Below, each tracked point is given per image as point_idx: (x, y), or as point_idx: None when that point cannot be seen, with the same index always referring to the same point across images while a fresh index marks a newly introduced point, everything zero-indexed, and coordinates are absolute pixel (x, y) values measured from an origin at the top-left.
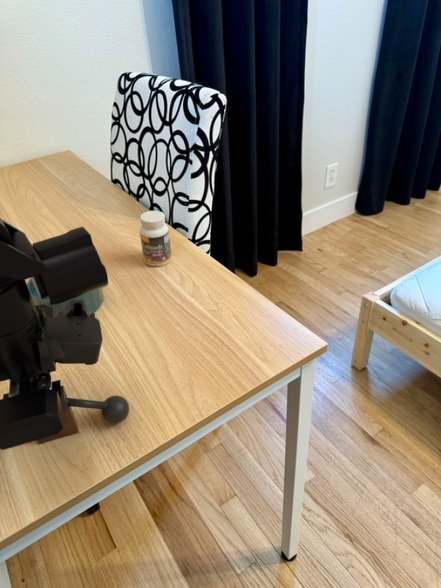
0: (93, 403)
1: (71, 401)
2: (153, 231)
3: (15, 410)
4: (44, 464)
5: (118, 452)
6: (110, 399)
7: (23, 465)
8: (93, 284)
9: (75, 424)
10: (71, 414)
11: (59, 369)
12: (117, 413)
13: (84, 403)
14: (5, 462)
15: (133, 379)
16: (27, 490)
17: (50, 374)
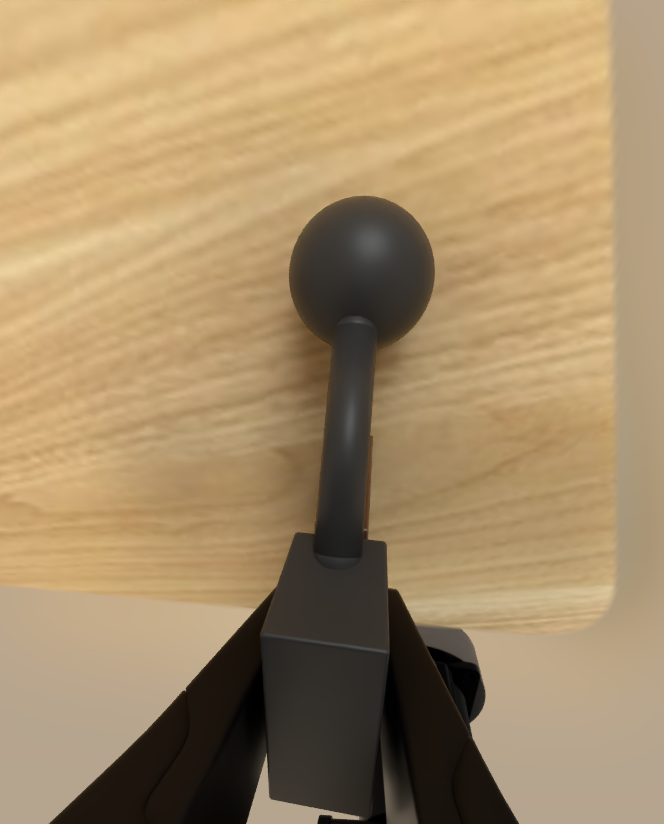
0: (360, 397)
1: (352, 537)
2: None
3: None
4: (447, 542)
5: (540, 306)
6: (340, 291)
7: (420, 588)
8: None
9: (370, 459)
10: (368, 499)
11: (66, 455)
12: (425, 268)
13: (359, 452)
14: None
15: (162, 156)
16: (512, 589)
17: (149, 735)
